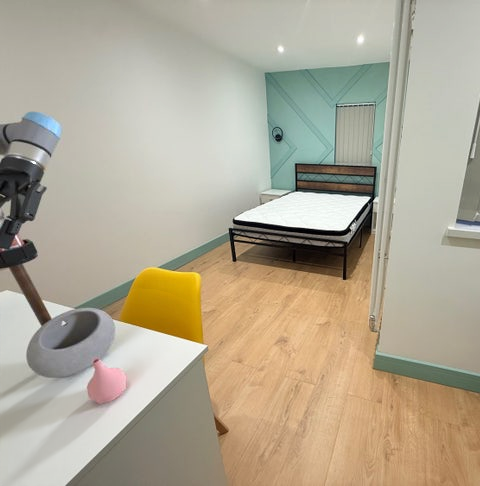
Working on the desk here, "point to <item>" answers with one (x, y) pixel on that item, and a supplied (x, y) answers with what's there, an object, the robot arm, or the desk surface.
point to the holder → (18, 255)
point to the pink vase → (105, 383)
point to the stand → (30, 293)
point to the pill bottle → (17, 240)
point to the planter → (70, 342)
